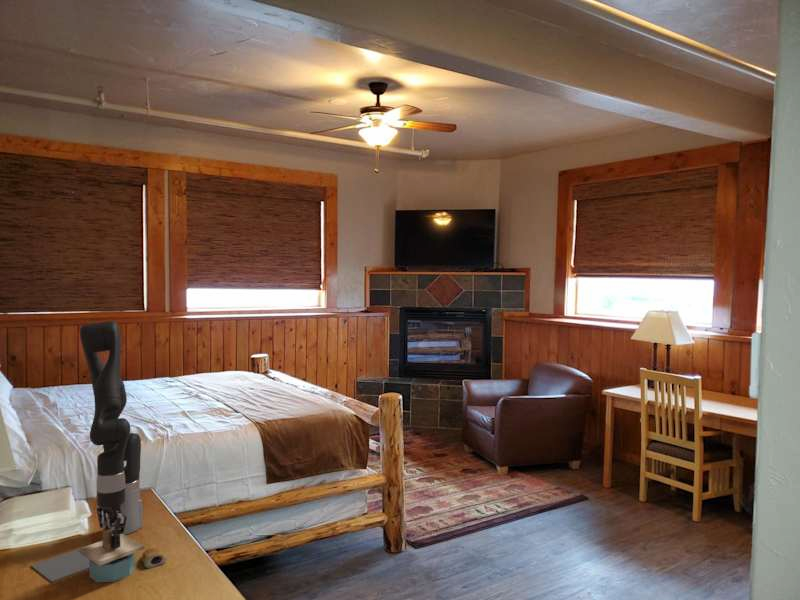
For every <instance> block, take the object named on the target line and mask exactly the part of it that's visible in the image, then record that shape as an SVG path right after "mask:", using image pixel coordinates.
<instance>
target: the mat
mask: <svg viewBox="0 0 800 600" xmlns="http://www.w3.org/2000/svg"><path fill="white" fill-rule="evenodd" d="M78 549H79V548H78ZM78 549H75V550H72V551H68V552H65V553H63V554H59V555H57V556H55V557H51V558H48V559H46V560H42V561H39V562H36V563H34V564H31V565H30V567H31V566H32V567H33V568H34V570H35V571H36V570H37V571H38V572H37V571H36V572H37V573H38V574H40V575H41V576H42V577H44V578H45V579H46V580H48V581H49V582H50V583H52V584H53V583H55V582H58V581H61V580H63V579H66V578H69V577H72V576H75V575H77V574H80V573H81V572H85V571H87V570H88V571H89V570H90V567H89V560H90V559H88V558H87V557H85V556H84V555H82V554H81V553H79V552H78ZM32 567H31V568H32ZM33 568H32V569H33Z"/></svg>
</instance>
